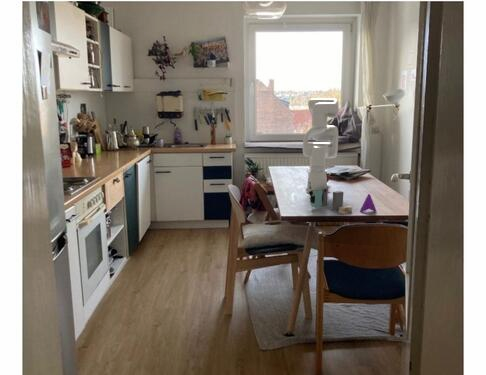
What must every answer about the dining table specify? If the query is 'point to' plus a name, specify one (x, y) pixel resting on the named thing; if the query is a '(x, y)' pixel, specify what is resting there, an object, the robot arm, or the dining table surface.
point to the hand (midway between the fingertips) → (316, 201)
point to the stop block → (345, 209)
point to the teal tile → (317, 199)
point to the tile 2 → (337, 200)
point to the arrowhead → (368, 204)
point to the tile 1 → (325, 198)
